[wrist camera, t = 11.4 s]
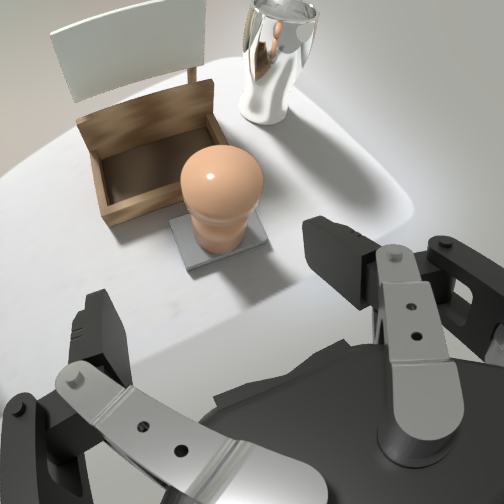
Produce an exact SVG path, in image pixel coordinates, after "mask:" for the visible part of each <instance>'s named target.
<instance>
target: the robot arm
mask: <svg viewBox="0 0 504 504" xmlns="http://www.w3.org/2000/svg"><path fill="white" fill-rule="evenodd" d="M302 230H303V240H304V250H305V258H306V261H307V263H308V265H309V267H310V268H311V269H312V270H313V271H314V272H315V273H316V274H318V275H319V276H320V277H321V278H322V279H323V280H325V281H326V282H327V283H328V284H329V285H330V286H332V287H333V288H334V289H335V290H336V291H337V292H338V293H340V294H341V295H342V296H343V297H344V298H345V299H346V300H348V301H349V302H350V303H351V304H352V305H353V306H354V307H356V308H357V309H358V310H359V311H360V310H362V309H364V308H366V307H368V306H370V305H371V306H372V307H373V308H372V327H373V344H361V345H356V346H350V345H349V344H348V343H347V342H346V341H345V340H344V339H342V340H340V341H338V342H336V343H334V344H332V345H330V346H328V347H326V348H324V349H322V350H320V351H318V352H316V353H314V354H313V355H312V356H310V357H309V358H308V359H306V360H305V361H304V362H303V363H301V364H300V365H299V366H298V367H296V368H295V369H294V370H293V371H291V372H290V373H288V374H286V375H283V376H279V377H275V378H271V379H265V380H261V381H256V382H251V383H247V384H244V385H241V386H239V387H236V388H234V389H232V390H229V391H227V392H224V393H221V394H219V395H216V396H214V397H213V398H214V401H215V403H216V405H217V407H216V408H214V409H212V410H211V411H210V412H209V413H207V414H206V415H205V416H204V417H203V418H202V419H201V420H200V421H199V422H198V423H197V422H195V421H193V420H191V419H190V418H187V417H186V416H184V415H182V414H180V413H178V412H177V411H175V410H173V409H171V408H169V407H167V406H166V405H164V404H162V403H161V402H159V401H157V400H156V399H154V398H152V397H150V396H149V395H147V394H146V393H144V392H142V391H141V390H139V389H137V388H136V387H134V386H133V383H132V376H131V370H130V362H129V354H128V346H127V338H126V333H125V329H124V326H123V324H122V322H121V320H120V318H119V316H118V314H117V312H116V310H115V307H114V305H113V303H112V301H111V299H110V297H109V295H108V293H107V291H106V290H105V289H102V290H99V291H96V292H93V293H90V294H88V295H86V301H85V310H82V311H79V312H78V313H77V315H76V317H75V318H74V320H73V322H72V330H71V331H72V333H71V341H70V349H69V360H68V365H67V366H66V367H64V368H63V369H62V370H61V371H60V373H59V374H58V376H57V378H56V381H55V388H56V389H55V390H54V391H52V392H51V393H49V394H48V395H46V396H44V397H42V398H41V399H39V400H36V399H35V397H34V396H33V395H32V394H30V393H26V392H25V393H20V394H17V395H16V396H14V397H13V398H12V399H11V400H10V401H9V402H8V403H7V405H6V407H5V409H4V413H3V422H2V434H1V450H0V501H1V504H94V503H93V499H92V494H91V489H90V484H89V479H88V473H87V468H86V461H85V455H84V452H85V451H87V450H89V449H90V448H92V447H94V446H95V445H97V444H99V443H100V442H102V441H104V442H105V443H106V444H107V445H108V446H109V447H111V448H112V449H113V450H114V451H115V452H117V453H118V454H119V455H120V456H121V457H123V458H124V459H125V460H126V461H128V462H129V463H130V464H131V465H133V466H134V467H135V468H137V469H138V470H140V471H141V472H142V473H143V474H145V475H146V476H147V477H148V478H150V479H151V480H152V481H154V482H155V483H156V484H158V485H159V486H161V487H162V488H163V489H165V490H166V492H165V494H164V496H163V499H162V501H161V503H160V504H504V268H502V267H501V266H499V265H498V264H496V263H495V262H493V261H491V260H490V259H488V258H486V257H485V256H483V255H481V254H480V253H478V252H477V251H475V250H473V249H472V248H470V247H468V246H466V245H465V244H463V243H461V242H460V241H458V240H456V239H454V238H452V237H449V236H434V237H432V238H430V239H429V241H428V248H427V251H422V252H417V253H413V252H412V251H411V250H410V249H409V248H407V247H405V246H402V245H395V244H391V245H385V246H380V245H378V244H377V243H375V242H374V241H372V240H370V239H369V238H367V237H365V236H362V234H360V233H358V232H357V231H356V232H355V230H353V229H351V228H350V227H348V226H346V225H342V224H338V223H333V222H332V221H330V220H328V219H327V218H325V217H323V216H317V217H314V218H311V219H308V220H305V221H303V224H302ZM456 279H458V280H459V281H461V282H462V283H463V284H465V285H466V286H467V287H469V289H470V290H471V292H472V295H473V300H472V304H469V303H468V302H467V301H465V300H464V299H463V298H461V297H460V296H459V295H458V294H456V293H455V292H453V291H454V286H455V282H456ZM442 325H443V326H444V327H445V328H446V329H447V330H449V331H450V332H451V333H452V334H453V335H454V336H455V337H457V338H458V339H459V340H460V341H461V342H462V343H463V344H465V345H466V346H467V347H468V348H469V349H470V350H471V351H472V352H474V353H475V354H476V355H477V356H478V357H479V358H480V359H481V360H482V361H483V362H485V363H480V362H474V361H467V360H462V359H456V358H450V357H449V354H448V349H447V345H446V340H445V336H444V332H443V328H442Z"/></svg>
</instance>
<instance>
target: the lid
mask: <svg viewBox="0 0 504 504" xmlns="http://www.w3.org/2000/svg"><path fill="white" fill-rule="evenodd" d="M205 13H206V0H153V1H148V2H144V3H140V4H136V5H132V6H128V7H124V8H121V9H117V10H114V11H110V12H107V13H103V14H100V15H97V16H94V17H91V18H88V19H85V20H82V21H79V22H77V23H74V24H71V25H69V26H66V27H63V28H61V29H58V30H56V31H54V32H51V33H50V37H51V40H52V43H53V46H54V49H55V52H56V54H57V57H58V60H59V63H60V66H61V68H62V71H63V74H64V76H65V79H66V82H67V84H68V87H69V89H70V92H71V95H72V97H73V99H74V102H75V103H77V102H80V101H82V100H85V99H87V98H90V97H93V96H95V95H98V94H101V93H104V92H106V91H110V90H113V89H116V88H118V87H122V86H125V85H128V84H131V83H134V82H137V81H141V80H145V79H148V78H152V77H155V76H159V75H163V74H167V73H170V72H175V71H179V70H183V69H188V68H192V67H197V66H202V65H204V43H205V15H206V14H205Z"/></svg>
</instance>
